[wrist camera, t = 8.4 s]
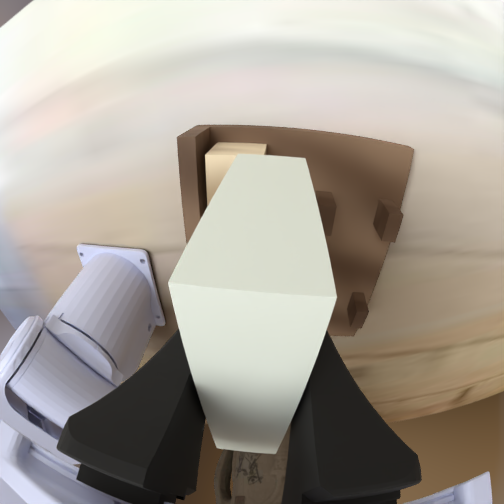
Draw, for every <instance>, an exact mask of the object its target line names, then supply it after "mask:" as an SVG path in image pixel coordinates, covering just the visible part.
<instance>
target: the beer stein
mask: <svg viewBox="0 0 504 504" xmlns="http://www.w3.org/2000/svg"><path fill="white" fill-rule="evenodd" d="M290 425H291V422H290V424H289V427H288V429H287V431H286V433H285V435H284V438H283V440H282V442H281V444H280V446H279V448H278V450H277V452H276V454H267V453H254V452H244V451H235V450H227V449H224V450H223V452H222V454H221V457H220V459H219V462H218V464H217V468H216V471H215V478H214V489H215V495H216V504H281V502H282V496H283V490H284V483H285V475H286V467H287V459H288V449H289V438H290ZM231 472H232V480H233V492H232V496H231V491H230V479H231Z"/></svg>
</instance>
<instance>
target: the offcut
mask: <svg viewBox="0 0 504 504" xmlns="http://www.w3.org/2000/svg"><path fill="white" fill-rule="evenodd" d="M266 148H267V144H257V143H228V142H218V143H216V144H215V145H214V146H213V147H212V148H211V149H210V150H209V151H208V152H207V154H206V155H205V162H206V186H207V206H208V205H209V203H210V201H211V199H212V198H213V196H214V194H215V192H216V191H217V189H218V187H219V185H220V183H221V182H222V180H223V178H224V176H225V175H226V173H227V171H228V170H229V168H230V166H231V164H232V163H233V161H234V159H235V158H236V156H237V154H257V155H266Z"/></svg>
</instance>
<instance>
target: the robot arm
mask: <svg viewBox="0 0 504 504" xmlns="http://www.w3.org/2000/svg"><path fill="white" fill-rule="evenodd" d="M77 251H78V254H79V257H80V260H81V263H82V265H83V269H82V270H81V271H80V273H79V274H78V275H77V276H76V278H75V279H74V280H73V282H72V283H71V284H70V286H69V287H68V288H67V290H66V291H65V292H64V294H63V295H62V296H61V298H60V299H59V300H58V302H57V303H56V304H55V306H54V307H53V309H52V310H51V312H50V313H49V314H48V316H47V317H46V319H44V320H42V319H41V318H40V317H39V316H35V317H28V318H27V319H26V320H25V321H24V322H23V323H22V324H21V325H20V327H19V328H18V329H17V330H16V332H15V333H14V335H13V336H12V337H11V339H10V340H9V342H8V343H7V345H6V347H5V348H4V350H3V352H2V353H1V355H0V504H121V503H122V504H175V502H176V498H177V499H181V500H184V499H185V495H190V494H192V493H193V492H195V491H196V484H197V475H198V466H199V459H200V451H201V444H202V437H203V431H204V424H205V419H206V417H205V414H204V411H203V408H202V405H201V402H200V399H199V396H198V393H197V390H196V387H195V383H194V380H193V377H192V374H191V370H190V367H189V363H188V360H187V357H186V353H185V349H184V346H183V342H182V338H181V335H180V331H179V329H178V330H177V331H176V332H175V334H174V335H173V336H172V337H171V338H170V339H169V340H168V341H167V342H166V344H165V345H164V346H163V347H162V348H161V349H160V350H159V351H158V352H157V353H156V354H155V355H154V356H153V357H152V358H151V359H150V360H149V361H148V362H147V363H146V364H145V365H144V366H143V367H141V368H140V369H139V370H138V371H137V372H136V370H137V369H138V367H139V365H140V362H141V360H142V357H143V355H144V352H145V350H146V347H147V345H148V343H149V340H150V338H151V336H152V333H153V331H154V329H155V326H156V325H158V326H164V325H165V318H164V315H163V311H162V308H161V304H160V300H159V297H158V293H157V289H156V285H155V281H154V277H153V273H152V269H151V264H150V260H149V256H148V253H147V252H146V251H145V250H142V249H131V248H120V247H109V246H98V245H87V244H79V245H78V246H77ZM142 259H144V260H145V261H143V260H142ZM135 372H136V373H135ZM129 377H130V378H129ZM128 378H129V379H128ZM126 379H127V380H126ZM125 380H126V381H125ZM122 381H125V382H123V383H122V384H121V382H122ZM120 384H121V385H120ZM72 464H81V465H80V468H77V467H75V466H74V465H72ZM421 480H422V479H421V469H420V463H419V460H418V455H417V454H416V453H415V452H414V451H412V450H411V449H410V448H409V447H408V446H407V445H406V444H405V443H404V442H403V441H402V440H401V439H400V438H399V437H398V436H397V435H396V434H395V433H394V431H393V430H392V429H391V428H390V427H389V426H388V425H387V424H386V423H385V421H384V420H383V419H382V418H381V416H380V415H379V414H378V413H377V411H376V410H375V409H374V408H373V406H372V405H371V404H370V403H369V401H368V400H367V399H366V397H365V396H364V394H363V393H362V391H361V390H360V389H359V387H358V385H357V384H356V382H355V381H354V379H353V378H352V376H351V375H350V373H349V371H348V369H347V368H346V366H345V364H344V362H343V361H342V359H341V357H340V355H339V353H338V351H337V349H336V347H335V345H334V343H333V341H332V339H331V337H330V335H329V333H328V331H327V330H326V333H325V336H324V339H323V342H322V344H321V347H320V350H319V353H318V356H317V358H316V361H315V364H314V366H313V369H312V372H311V374H310V377H309V379H308V382H307V384H306V387H305V389H304V392H303V394H302V397H301V399H300V401H299V404H298V406H297V409H296V411H295V413H294V415H293V418H292V420H291V425H290V438H289V449H288V459H287V467H286V475H285V483H284V490H283V496H282V502H281V504H397V502H396V501H397V499H399V498H400V490H401V489H404V488H407V487H410V486H413V485H416V484H418V483H420V481H421ZM403 504H492V492H491V482H490V473H489V472H486V473H484V474H482V475H479V476H477V477H475V478H473V479H471V480H468V481H466V482H464V483H461V484H458V485H455V486H453V487H450V488H448V489H445V490H443V491H440V492H437V493H434V494H433V495H430V496H427V497H424V498H421V499H418V500H414V501H411V502H407V503H403Z"/></svg>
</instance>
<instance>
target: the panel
mask: <svg viewBox="0 0 504 504" xmlns="http://www.w3.org/2000/svg"><path fill="white" fill-rule="evenodd" d="M168 285H169V289H170V294H171V298H172V302H173V307H174V311H175V315H176V319H177V323H178V327H179V331H180V335H181V338H182V342H183V346H184V349H185V353H186V357H187V360H188V363H189V367H190V370H191V374H192V377H193V380H194V383H195V387H196V390H197V393H198V396H199V399H200V402H201V405H202V408H203V411H204V414H205V417H206V420H207V423H208V425H209V428H210V431H211V434H212V436H213V439H214V442H215V444H216V446H217V448H220V449H227V450H235V451H244V452H254V453H267V454H276V452H277V450H278V448H279V446H280V444H281V442H282V440H283V438H284V435H285V433H286V431H287V429H288V427H289V424H290V422H291V420H292V418H293V415H294V413H295V411H296V409H297V406H298V404H299V401H300V399H301V397H302V394H303V392H304V389H305V387H306V384H307V382H308V379H309V377H310V374H311V372H312V369H313V366H314V364H315V361H316V358H317V356H318V353H319V350H320V347H321V344H322V342H323V339H324V336H325V333H326V330H327V327H328V324H329V321H330V318H331V315H332V312H333V309H334V305H335V302H336V299H337V295H336V289H335V284H334V278H333V273H332V268H331V263H330V258H329V253H328V248H327V244H326V239H325V234H324V230H323V225H322V221H321V217H320V213H319V208H318V204H317V200H316V196H315V192H314V188H313V184H312V181H311V177H310V173H309V169H308V166H307V162H306V159H305V158H299V157H287V156H273V155H257V154H237V156H236V158H235V159H234V161H233V163H232V164H231V166H230V168H229V170H228V171H227V173H226V175H225V176H224V178H223V180H222V182H221V183H220V185H219V187H218V189H217V191H216V192H215V194H214V196H213V198H212V199H211V201H210V203H209V205H208V207H207V208H206V210H205V212H204V214H203V216H202V218H201V220H200V221H199V223H198V225H197V227H196V229H195V231H194V233H193V235H192V236H191V238H190V240H189V242H188V244H187V246H186V248H185V250H184V252H183V254H182V256H181V258H180V260H179V262H178V264H177V266H176V268H175V270H174V272H173V274H172V276H171V278H170V280H169V282H168Z"/></svg>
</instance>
